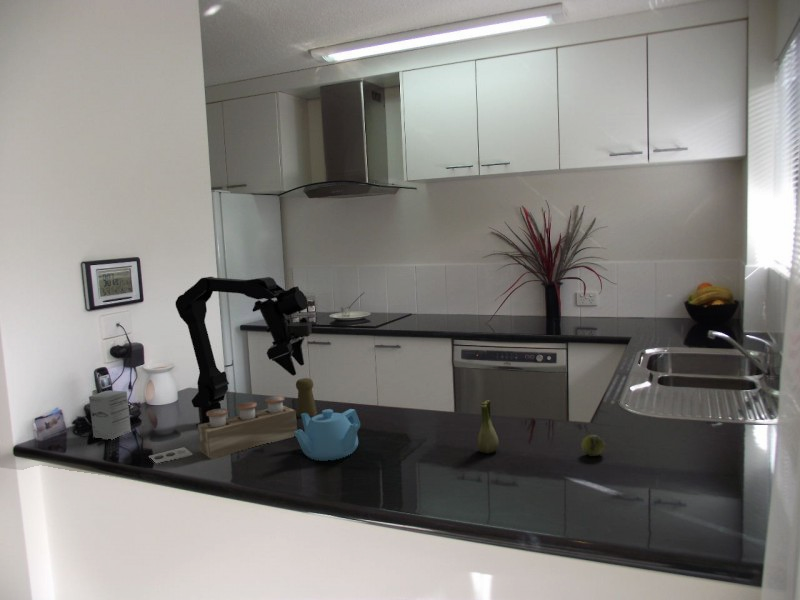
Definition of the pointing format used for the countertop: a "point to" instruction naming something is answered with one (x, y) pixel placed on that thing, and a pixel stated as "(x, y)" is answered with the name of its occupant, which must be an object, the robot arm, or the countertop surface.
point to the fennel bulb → (487, 431)
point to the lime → (593, 445)
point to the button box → (247, 432)
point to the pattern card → (170, 455)
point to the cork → (305, 397)
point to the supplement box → (110, 414)
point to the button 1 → (217, 417)
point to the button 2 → (275, 404)
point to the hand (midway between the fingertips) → (298, 369)
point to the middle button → (247, 410)
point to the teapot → (329, 435)
